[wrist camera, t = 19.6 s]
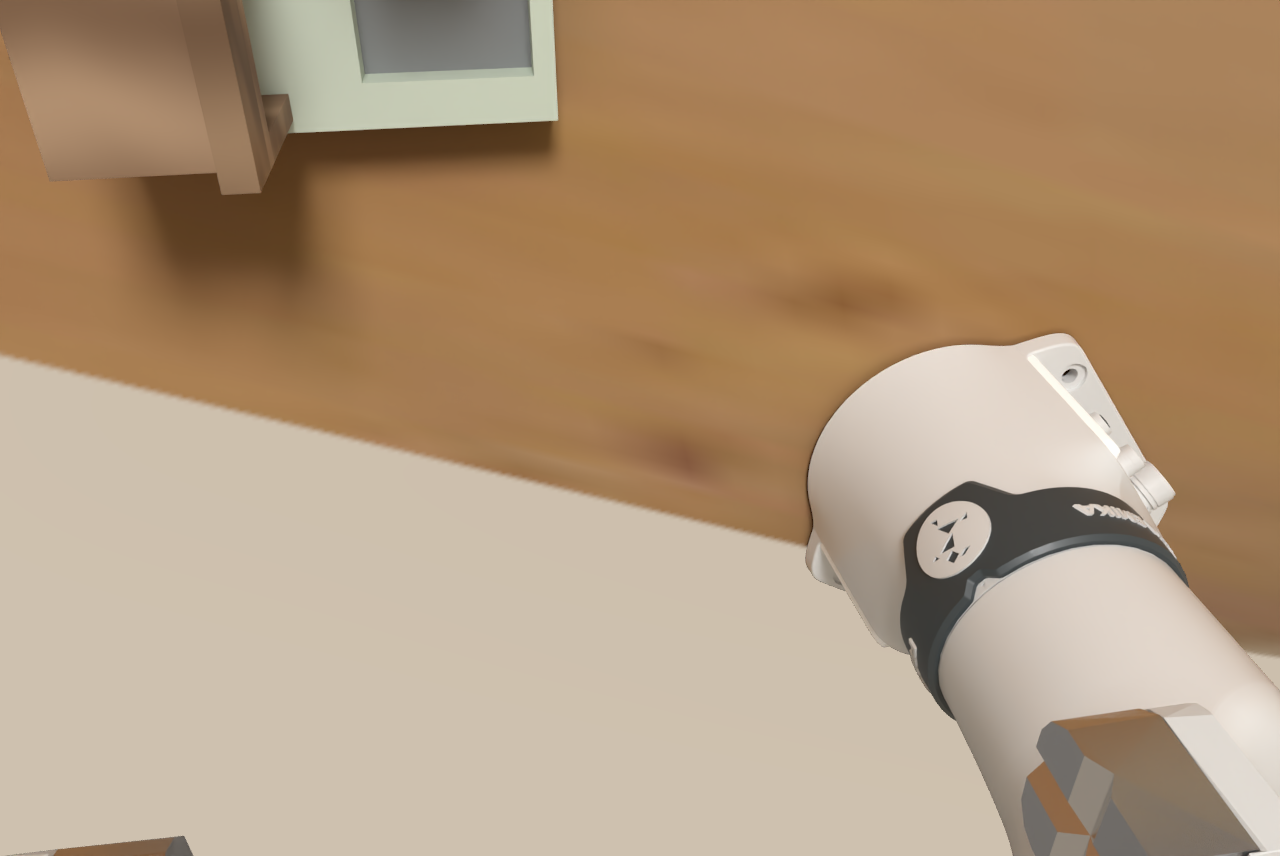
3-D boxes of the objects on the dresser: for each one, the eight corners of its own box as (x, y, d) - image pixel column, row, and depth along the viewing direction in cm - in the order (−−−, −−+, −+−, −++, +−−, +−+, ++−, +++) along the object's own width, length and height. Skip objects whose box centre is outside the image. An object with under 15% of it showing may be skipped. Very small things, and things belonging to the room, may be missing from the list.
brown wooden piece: (293, 120, 39) (260, 192, 33) (99, 129, 38) (26, 205, 32) (242, -150, 34) (192, -129, 28) (19, -147, 33) (-87, -124, 27)
